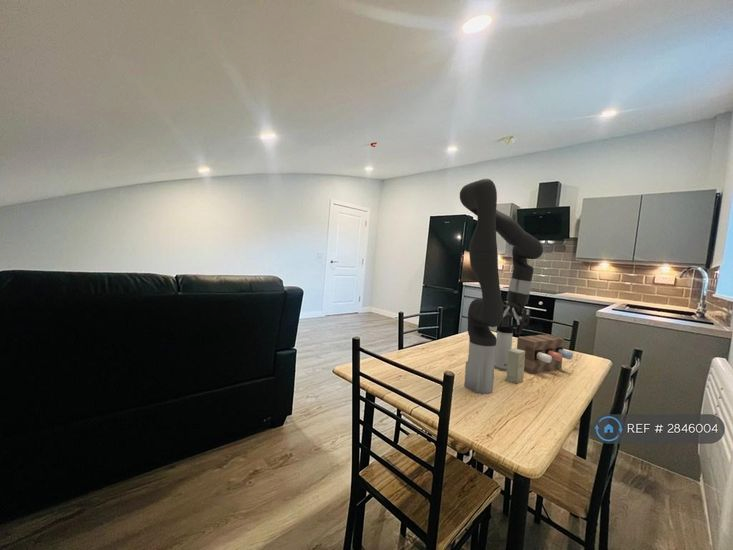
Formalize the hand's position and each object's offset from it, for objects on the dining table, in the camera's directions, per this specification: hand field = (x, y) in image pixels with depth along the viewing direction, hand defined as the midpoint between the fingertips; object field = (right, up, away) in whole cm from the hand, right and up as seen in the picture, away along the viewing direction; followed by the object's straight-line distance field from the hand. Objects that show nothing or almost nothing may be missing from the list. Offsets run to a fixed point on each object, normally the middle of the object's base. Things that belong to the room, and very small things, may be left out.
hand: (510, 330), depth 116 cm
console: (+20, -20, +15) cm, 32 cm away
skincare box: (+2, -21, 0) cm, 21 cm away
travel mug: (+3, -20, +13) cm, 24 cm away
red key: (+23, -14, +9) cm, 29 cm away
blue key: (+30, -15, +12) cm, 35 cm away
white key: (+17, -14, +6) cm, 23 cm away
